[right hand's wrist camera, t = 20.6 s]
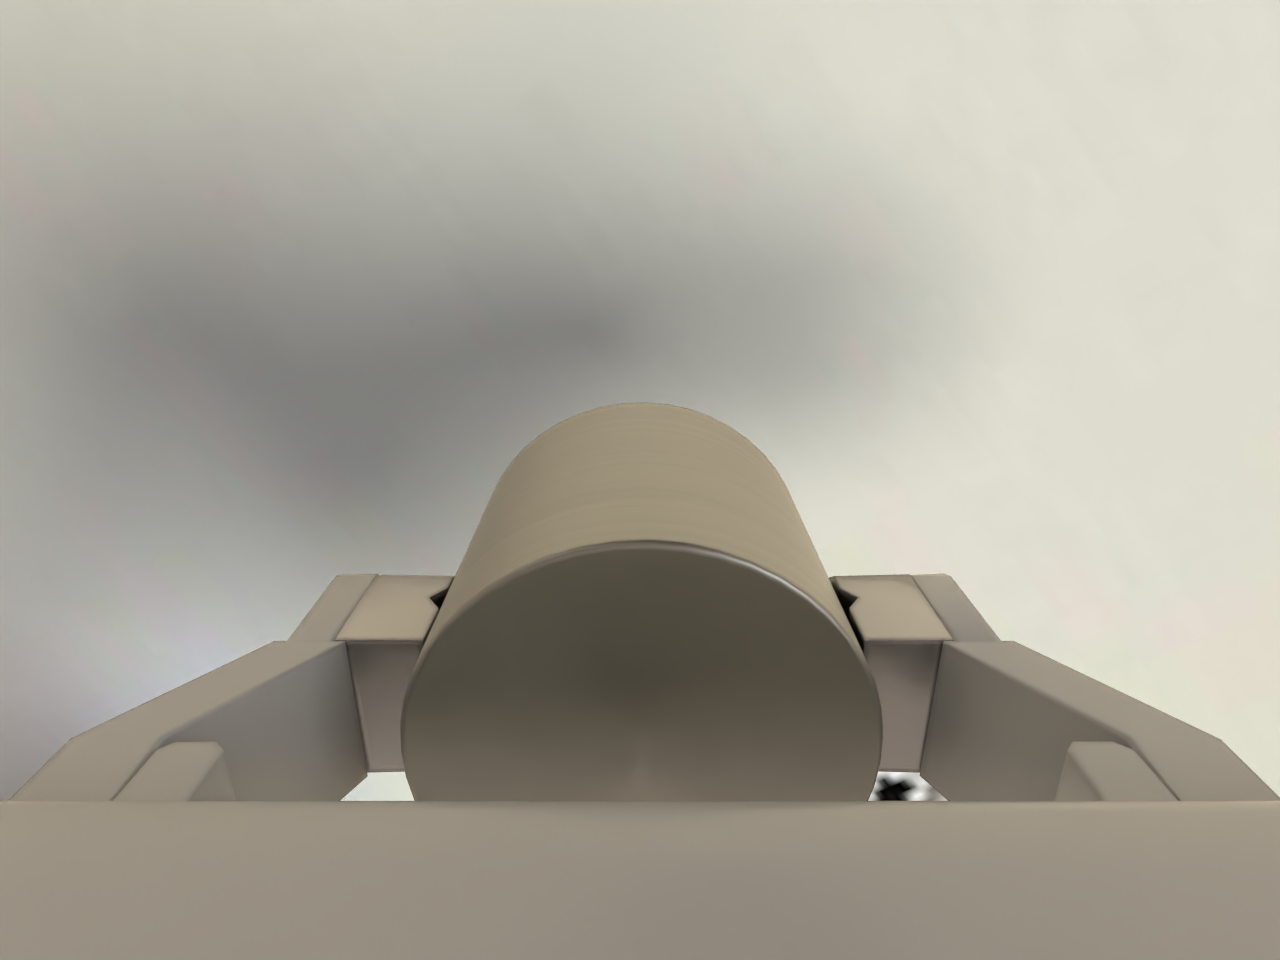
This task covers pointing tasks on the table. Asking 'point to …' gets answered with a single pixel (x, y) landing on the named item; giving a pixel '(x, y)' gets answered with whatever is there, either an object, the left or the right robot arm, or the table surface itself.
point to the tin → (641, 632)
